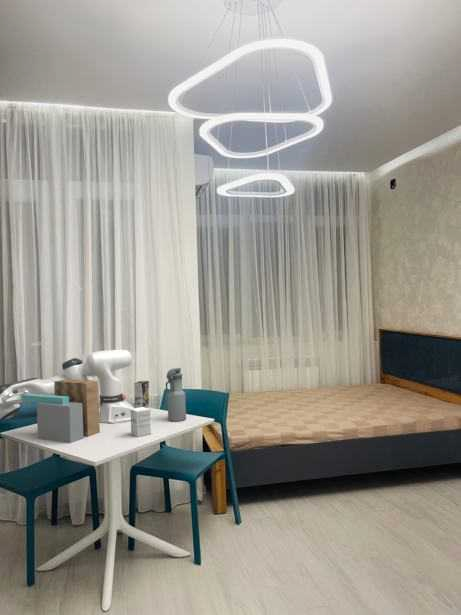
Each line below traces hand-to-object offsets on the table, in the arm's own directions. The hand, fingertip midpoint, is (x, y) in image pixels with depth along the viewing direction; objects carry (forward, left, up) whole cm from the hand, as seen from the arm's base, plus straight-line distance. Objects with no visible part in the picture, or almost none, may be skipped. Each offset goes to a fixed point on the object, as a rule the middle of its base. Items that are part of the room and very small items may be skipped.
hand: (18, 393), depth 235 cm
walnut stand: (-28, +13, -20) cm, 37 cm away
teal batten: (-13, +13, -3) cm, 19 cm away
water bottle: (-80, +8, -20) cm, 83 cm away
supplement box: (-58, +30, -21) cm, 68 cm away
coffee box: (-66, -33, -21) cm, 76 cm away
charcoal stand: (-20, +20, -20) cm, 35 cm away
